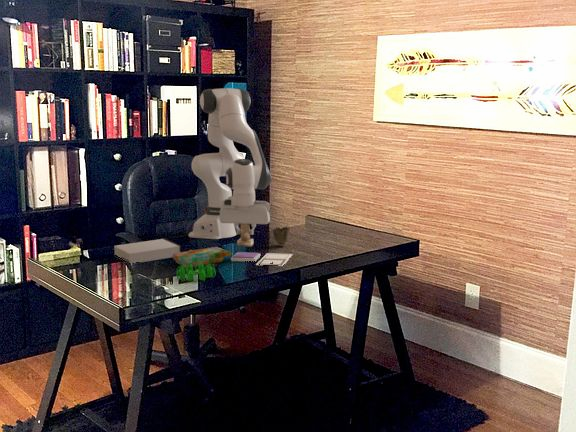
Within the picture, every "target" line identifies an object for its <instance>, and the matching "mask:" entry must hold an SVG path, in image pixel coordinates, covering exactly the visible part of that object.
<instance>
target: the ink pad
mask: <svg viewBox="0 0 576 432" xmlns="http://www.w3.org/2000/svg"><path fill="white" fill-rule="evenodd" d="M261 254H262V253H259V252H245V251H244V252H242V251H238V252H236V253H235V254H234V255H232V257H230V261H231V262H245V261H246V263H247V261H248V262H249V261H251V262H252V261H253V262H254V261H255V262H257V260H259V259H260V258H261V257H260V256H261ZM251 262H249V263H251ZM253 262H252V263H253ZM255 262H254V263H255Z"/></svg>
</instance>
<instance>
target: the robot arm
mask: <svg viewBox="0 0 576 432" xmlns="http://www.w3.org/2000/svg"><path fill="white" fill-rule="evenodd" d="M199 104H200V109H201V110H202V111H203V112H204V113H206V114H208V122H207V140H208V142H209V143H210V144H211V145H212V146H214V147H217V148H219V152H211V153H202V154H199V155H195V156H194V157H193V158H192V161H191V171H192V172H193V174H194V175H195V176H196V177H197V178H199V179H200V180H201V181H202V183H203V184H204V185H205V188H206V190H207V199H208V202H207V203H208V205H206V207H204V209H203V212H204V213H205V214H203V215H202V216H200V218H198V219H197V220H196V221H195V222H194V223H193V228H192V229H193V230H192V231H190V232H189V233H188V237H189V238H194V239H209V240H219V239H228V238H232V237H235V236H237V235H241V228H240V227H239V225H241V224H249V225H251V227H252V228H251V229H250V230H249V235H250V236H251V235H252V236H253V235H254V230H255V228H256V227H257V225H267V224H269V223H270V222H271V216H270V215H271V214H270V209H271V204H270V203H269V202H268V201H266V200H256V190H265V189H266V188H268V186H269V185H270V184H271V181H272V175H271V172H270V169H269V166H268V164H267V162H266V159H265V156H264V151H263V150H262V147H261V142H260V140H259V137H258V135H257V133H256V131H255V130H254V129H252V128H251V127H250V126H249V124H248V123H247V119H246V113H247V111H249V109H250V106H251V96H250V93H249V92H248V91H247V89H243V88H239V89H238V88H233V87H232V88H230V87H225V88H213V89H212V88H208V89H207V88H206V89H204V90H203V91H202V92H201V95H200V99H199ZM234 142H236V143H238V144H242V145H243V146H246V148H248V149H249V151H250V153H251V156H252V159H253V161H252V160H251V159H248V158H247V159H246V158H245V156H244V155H243V154H242V153H240V151H238V149H237V148H236V146H235V145H234ZM220 177H225V183H222V182H221V180H220ZM232 190H233V191H232Z"/></svg>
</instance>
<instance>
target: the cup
mask: <svg viewBox="0 0 576 432" xmlns="http://www.w3.org/2000/svg"><path fill="white" fill-rule="evenodd" d="M272 234H273V240H274V241H275V242H276V243H277V244H276V245H277V246H278V247H281V248H282V247H285V246H286V245H287V244H286V243H287V242H288V240H289V239H290V228H289V227H287V226H283V227H282V228H281V227H280V226H276V227H274V228H272Z"/></svg>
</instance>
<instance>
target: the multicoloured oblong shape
mask: <svg viewBox="0 0 576 432" xmlns="http://www.w3.org/2000/svg"><path fill="white" fill-rule="evenodd" d="M230 256H232V252H231V251H229V250H225V249H223V248H221V247H217V246H214V247H208V248H200V249H189V250H188V251H182V252H180V253H174V254H173V257H172V258H173V260H174V261H175V263H176V264H178V265H179V266H185V267H186V268H187V265H188V264H189V263H190V264H191V265H192V267H193V268H195V261H192V259H199V261H196V267H198V265H199V264H200V263H203V265H204V266H206V265H208V264H211V265H212V264H216V263H221V262H223V260H224V258H226V257H230Z"/></svg>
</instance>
